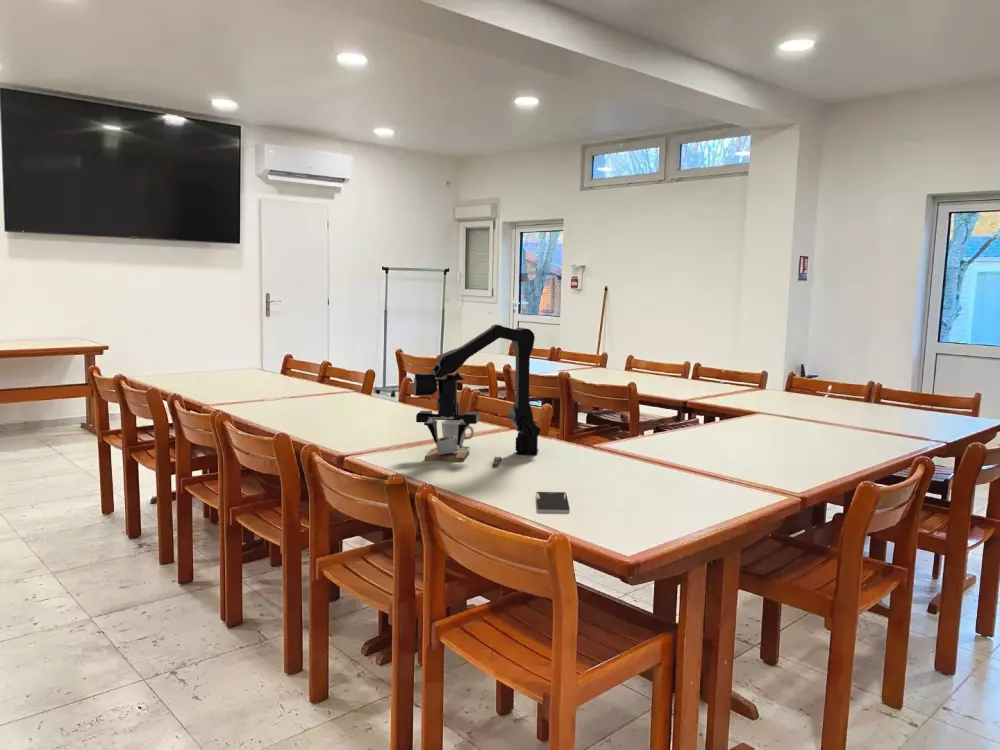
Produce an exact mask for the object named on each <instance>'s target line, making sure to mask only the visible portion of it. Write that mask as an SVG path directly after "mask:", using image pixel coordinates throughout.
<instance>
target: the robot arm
mask: <svg viewBox="0 0 1000 750" xmlns="http://www.w3.org/2000/svg"><path fill="white" fill-rule="evenodd" d="M498 339H504V340H508V341H511V344H512V350H513V352H514V356H515V378H514V379H515V386H514V388H515V393H514V394H515V395H514V396H515V397H514V398H515V399H514V402H513V405H509V406H508V410H509V414H508V419H509V420H510V423H511V424H512V426H514V427H515V429H516V432H517V436H516V438H515V451H516V455H533V456H534V455H535V456H536V455H537V454H538V453H539V448H538V447H539V446H538V445H539V444H538V443H539V442H538V441H539V436H540V433H541V431H542V430H541V428H540V427H539V426H538V425H537V424H536V423H535V422H534V415H533V410H532V406H531V403H530V359H531V354H532V351H533V349H534V345H535V339H536V338H535V333H534V332H533V331H532V330H531V329H530V328H525V327H517V328H509V327H506V326H503V325H501V324H492V325H491V326H490V328H488V329H487V330H485V331H483V332H482V333H480V334H478V335H477V336H476V337H473V338H472V339H471V340H468V342H466V343H465V344H463V345H461V346H459V347H458V348H453V349H451V350H449V351H446V352H443V353H441V354H440V355H439V356H438V357H437V359H436V365H435V366H434V367H433V369H432V370H431V371H430V373H419V372H417V373H414V379H413V384H412V389H413V395H414V397H422V396H424V397H425V396H434V394H436V392H437V394H438V395H437V405H436V408H437V413H433V411H432V410H420V411H418V413H416V416H415V422H416V423H423V425H424V426H427V428H428V430H429V432H430V434H431V436H432V439H433V441H434V443H435V445H436V441H437V440H438V439H439V436H438V435H439V434H438V427H437V426H438V421H445V420H460V422H461V423H460V424H459V427H458V445H460V442H461V439H462V436H463V433H464V430H465V428H466V426H469V425H470V426H471V425H476V424H477V423H478V422H479V421H480V415H479V413H478V411H465V413H463V414H462V413H461V414H460V408H461V404H460V403H459V402H458V396H457V395H458V384H457V383H458V381H463V380H464V377H463V376H461V374H460V373H459V372H458V371H457V370H458V369H460V368H461V367H462V366H464V363H465V362H467V360H468V359H469V358H470V357H472V356H475V354H477V353H478V352H480V351H481V350H483V349H485V348H486V347H488V346H489V345H491V344H493V342H495V341H496V340H498Z"/></svg>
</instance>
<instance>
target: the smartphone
mask: <svg viewBox="0 0 1000 750" xmlns="http://www.w3.org/2000/svg"><path fill="white" fill-rule="evenodd" d="M535 501H536V511H537V513H539V514H542V513H544V514H569V513H570V510H571V509H570V504H569V500H568V495H567V492H565V491H543V490H542V491H541V490H540V491H536V492H535Z"/></svg>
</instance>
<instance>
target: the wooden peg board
mask: <svg viewBox="0 0 1000 750" xmlns="http://www.w3.org/2000/svg"><path fill="white" fill-rule="evenodd" d="M448 439H451V437H444V440H448ZM467 456H468V457H469V456H470V450H468V449H467V450H466V449H459V450H458V451H456V452H452V453H447V454H442V455H438V450H437V448H432V449H431V450H429V452H428V453H427V454H425V455H424V460H425V461H436V460H442V461H443V460H444V461H443V462H463V461H464V460H465V461H466V459H467V458H468V457H467ZM465 461H464V462H465Z"/></svg>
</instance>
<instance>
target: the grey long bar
mask: <svg viewBox="0 0 1000 750" xmlns="http://www.w3.org/2000/svg"><path fill="white" fill-rule="evenodd" d="M501 461H502V456H494V457H493V462H492V464H491V465H492V468H498V467H499V465H500V463H501Z"/></svg>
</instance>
